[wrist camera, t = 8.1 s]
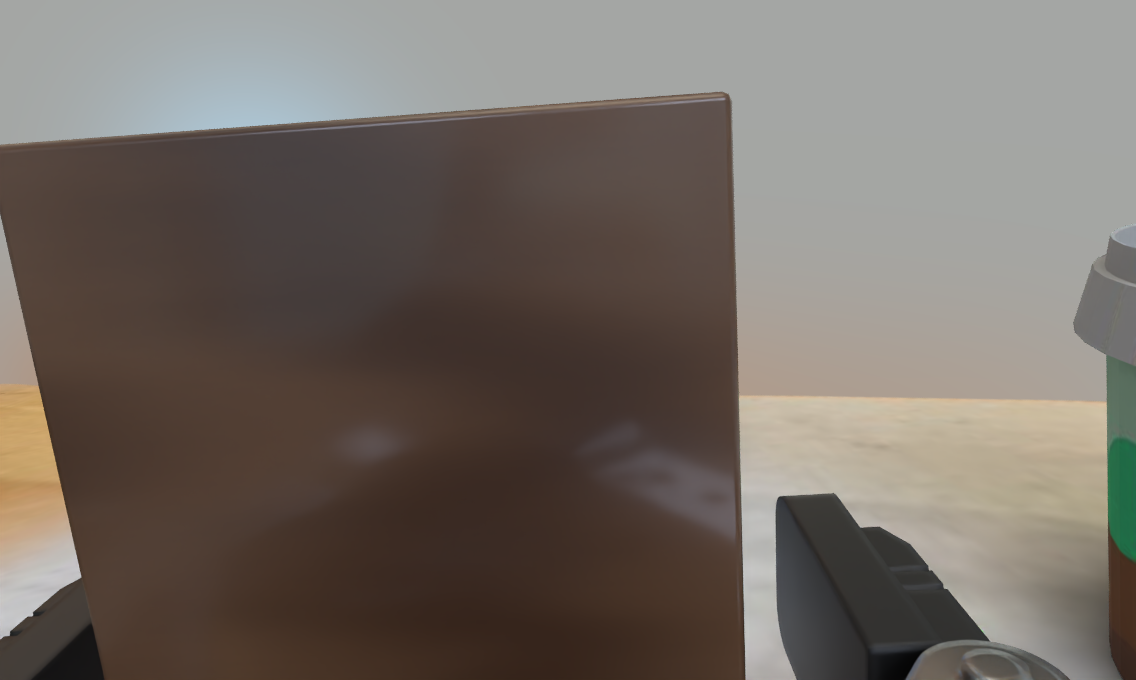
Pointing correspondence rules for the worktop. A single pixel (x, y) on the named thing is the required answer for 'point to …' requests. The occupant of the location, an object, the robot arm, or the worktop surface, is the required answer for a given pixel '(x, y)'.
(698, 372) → the walnut block
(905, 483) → the worktop surface
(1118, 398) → the food container
